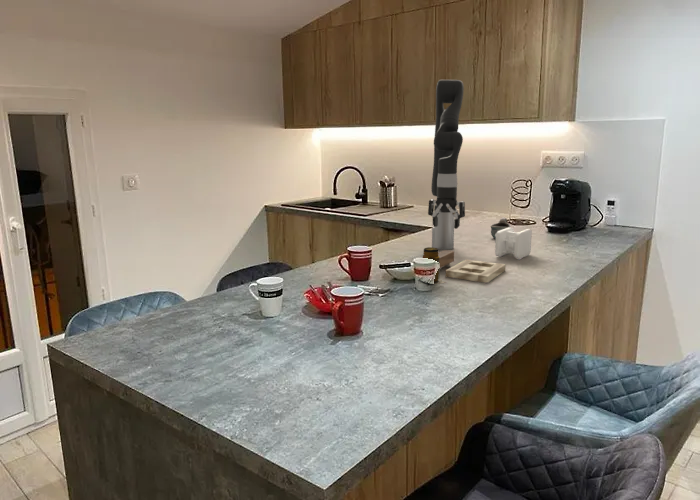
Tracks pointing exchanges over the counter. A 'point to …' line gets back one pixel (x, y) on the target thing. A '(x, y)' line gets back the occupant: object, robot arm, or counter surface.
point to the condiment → (433, 254)
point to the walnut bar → (446, 258)
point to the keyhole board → (475, 271)
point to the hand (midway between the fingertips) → (445, 227)
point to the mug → (499, 226)
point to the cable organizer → (513, 242)
